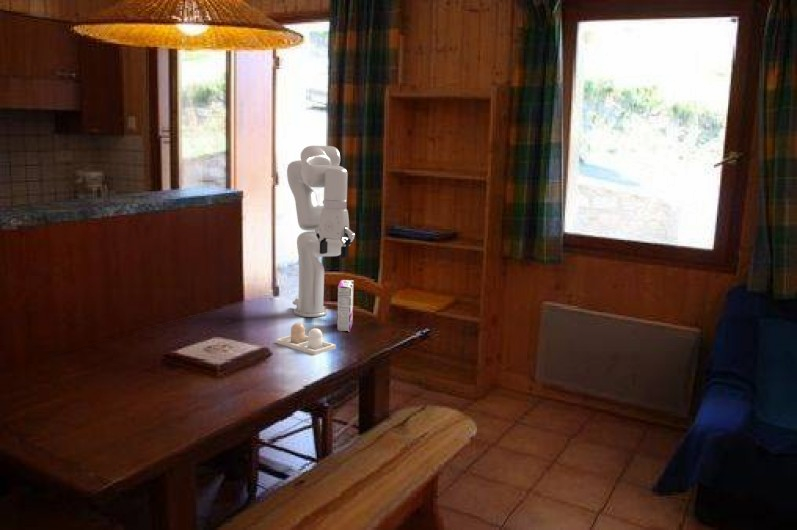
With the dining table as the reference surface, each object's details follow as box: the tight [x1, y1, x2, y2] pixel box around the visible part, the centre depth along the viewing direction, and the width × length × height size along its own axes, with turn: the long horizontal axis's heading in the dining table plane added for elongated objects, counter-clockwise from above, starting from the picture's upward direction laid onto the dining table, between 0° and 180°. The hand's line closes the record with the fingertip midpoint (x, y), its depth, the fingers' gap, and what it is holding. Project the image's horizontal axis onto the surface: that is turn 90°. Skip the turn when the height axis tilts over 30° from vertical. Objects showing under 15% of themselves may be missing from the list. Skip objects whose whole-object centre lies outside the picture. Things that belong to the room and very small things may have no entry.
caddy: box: [275, 334, 337, 356], centre depth 234 cm, size 18×10×2 cm, turn 52°
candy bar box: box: [336, 279, 354, 333], centre depth 257 cm, size 11×5×16 cm, turn 179°
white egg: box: [307, 327, 324, 350], centre depth 231 cm, size 5×5×7 cm
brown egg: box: [289, 322, 306, 344], centre depth 236 cm, size 5×5×7 cm
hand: (333, 255), depth 242 cm, fingers open, 9 cm apart
